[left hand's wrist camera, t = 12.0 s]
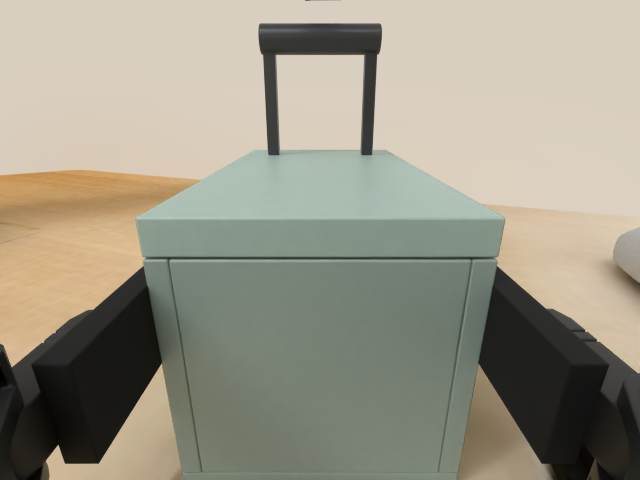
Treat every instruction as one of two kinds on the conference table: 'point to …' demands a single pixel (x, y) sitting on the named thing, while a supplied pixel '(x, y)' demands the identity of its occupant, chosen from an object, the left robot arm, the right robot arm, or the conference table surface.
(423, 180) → the lid
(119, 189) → the conference table surface
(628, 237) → the projector
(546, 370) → the left robot arm
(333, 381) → the chest
